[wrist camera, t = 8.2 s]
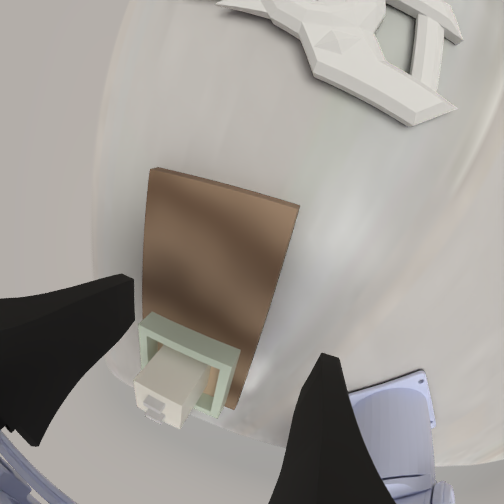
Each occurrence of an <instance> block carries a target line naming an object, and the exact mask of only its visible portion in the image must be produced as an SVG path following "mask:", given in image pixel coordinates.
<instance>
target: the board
mask: <svg viewBox="0 0 504 504" xmlns="http://www.w3.org/2000/svg"><path fill="white" fill-rule="evenodd" d="M299 207H300V205H297V204H293V203H290V202H287V201H284V200H280V199H277V198H274V197H270V196H267V195H263V194H260V193H256V192H253V191H249V190H246V189H242V188H239V187H235V186H231V185H228V184H224V183H220V182H216V181H212V180H209V179H205V178H201V177H197V176H193V175H189V174H185V173H180V172H176V171H172V170H168V169H163V168H159V167H158V168H153V169H150V173H149V182H148V191H147V202H146V214H145V228H144V246H143V278H142V308H143V319H144V318H146V317H147V316H148V315H149V314H150V313H151V312H154V313H156V314H158V315H160V316H163V317H165V318H167V319H169V320H171V321H173V322H175V323H178V324H180V325H182V326H184V327H187V328H189V329H191V330H193V331H196V332H198V333H200V334H203V335H205V336H207V337H210V338H212V339H215V340H217V341H220V342H222V343H225V344H227V345H230V346H232V347H235V348H237V349H240V350H241V351H240V355H239V358H238V362H237V365H236V369H235V372H234V376H233V379H232V383H231V386H230V390H229V393H228V397H227V400H226V403H225V407H228V408H230V409H233V410H234V409H235V407H236V405H237V403H238V400H239V397H240V395H241V392H242V389H243V386H244V383H245V380H246V377H247V374H248V372H249V369H250V366H251V363H252V360H253V357H254V354H255V351H256V348H257V345H258V342H259V339H260V336H261V333H262V329H263V326H264V323H265V320H266V317H267V314H268V311H269V308H270V305H271V301H272V298H273V295H274V292H275V289H276V285H277V282H278V279H279V276H280V272H281V269H282V266H283V262H284V259H285V256H286V252H287V249H288V246H289V242H290V239H291V235H292V232H293V229H294V225H295V222H296V218H297V215H298V211H299Z"/></svg>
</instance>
